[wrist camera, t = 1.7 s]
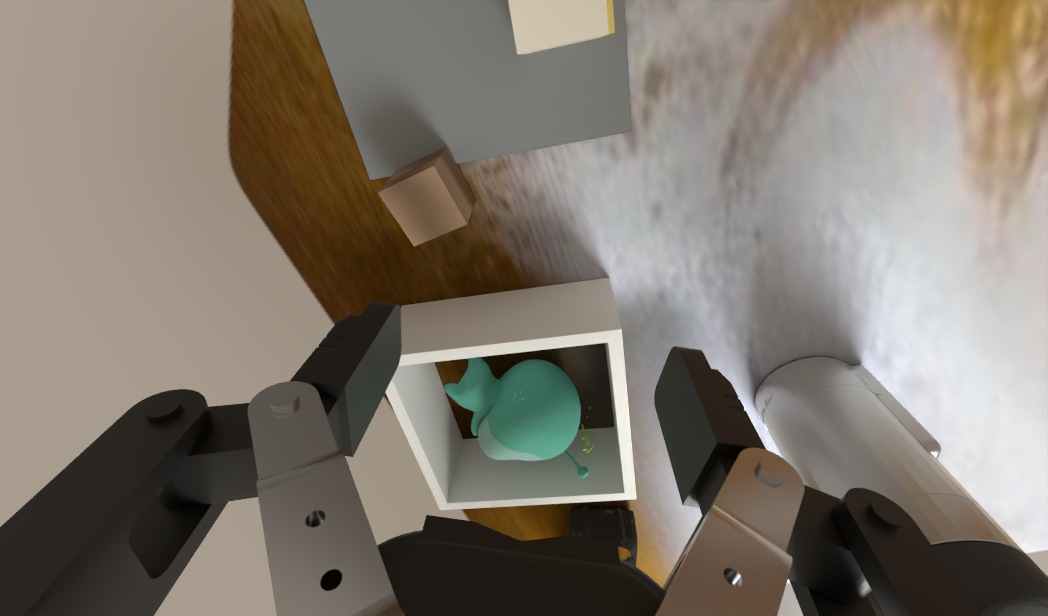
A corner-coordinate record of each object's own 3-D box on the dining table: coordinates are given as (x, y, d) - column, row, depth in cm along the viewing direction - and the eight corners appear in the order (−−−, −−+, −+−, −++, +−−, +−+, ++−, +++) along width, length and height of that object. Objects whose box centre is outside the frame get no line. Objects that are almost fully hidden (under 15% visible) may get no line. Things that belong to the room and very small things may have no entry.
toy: (413, 422, 39) (541, 508, 41) (451, 392, 31) (606, 501, 33) (466, 342, 45) (574, 421, 47) (508, 301, 37) (635, 398, 39)
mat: (616, -114, 24) (617, -116, 23) (630, 130, 30) (631, 131, 30) (297, -26, 27) (294, -27, 27) (372, 178, 33) (370, 180, 33)
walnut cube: (447, 146, 31) (433, 166, 28) (476, 199, 34) (467, 224, 30) (396, 170, 32) (377, 192, 29) (428, 220, 35) (414, 246, 31)
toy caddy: (609, 277, 36) (621, 329, 29) (624, 432, 46) (636, 499, 39) (402, 305, 39) (369, 358, 32) (456, 446, 49) (440, 510, 42)
